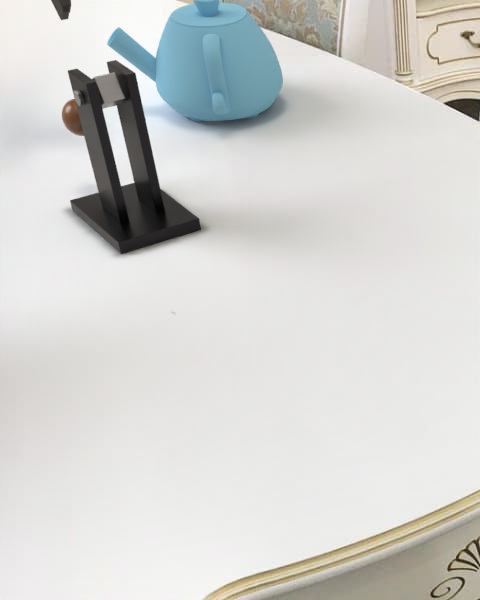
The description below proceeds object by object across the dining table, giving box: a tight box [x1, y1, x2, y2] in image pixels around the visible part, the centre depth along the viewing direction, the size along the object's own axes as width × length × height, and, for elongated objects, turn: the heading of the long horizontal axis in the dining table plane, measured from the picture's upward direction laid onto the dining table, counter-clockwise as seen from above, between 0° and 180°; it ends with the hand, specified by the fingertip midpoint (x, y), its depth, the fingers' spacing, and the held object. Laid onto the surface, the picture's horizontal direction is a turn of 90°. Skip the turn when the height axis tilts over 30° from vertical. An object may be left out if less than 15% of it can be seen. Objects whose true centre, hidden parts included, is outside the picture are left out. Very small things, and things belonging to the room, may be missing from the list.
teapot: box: [106, 0, 284, 123], centre depth 134 cm, size 20×20×13 cm
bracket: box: [67, 59, 202, 254], centre depth 112 cm, size 12×9×15 cm
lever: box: [61, 72, 125, 137], centre depth 113 cm, size 14×4×4 cm, turn 39°
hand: (27, 23), depth 117 cm, fingers open, 8 cm apart
